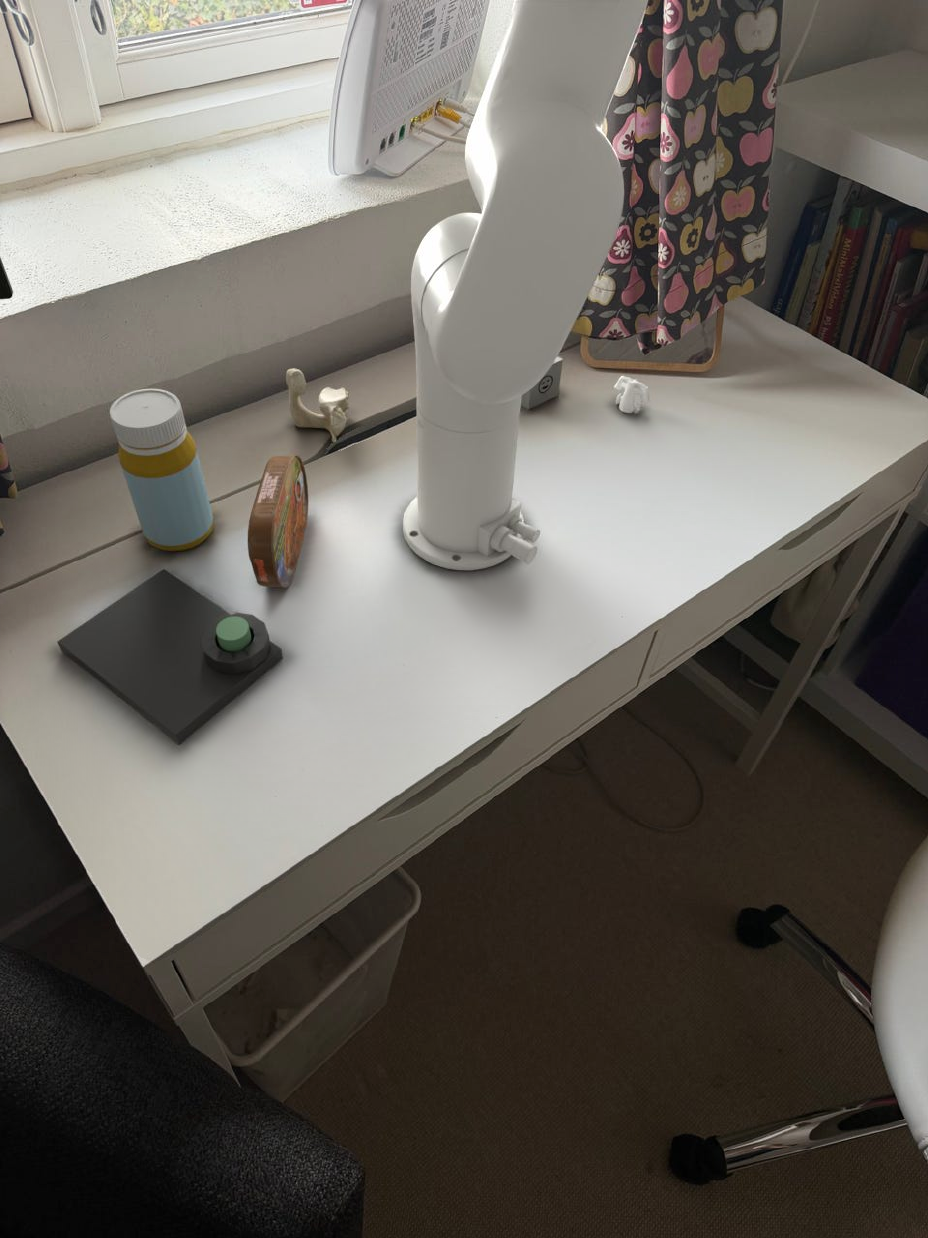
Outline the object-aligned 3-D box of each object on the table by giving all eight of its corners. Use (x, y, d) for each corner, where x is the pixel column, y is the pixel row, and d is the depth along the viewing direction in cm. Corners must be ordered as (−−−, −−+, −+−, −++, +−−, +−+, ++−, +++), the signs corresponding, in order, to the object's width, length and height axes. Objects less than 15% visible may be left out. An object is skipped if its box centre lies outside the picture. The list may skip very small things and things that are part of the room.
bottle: (198, 559, 88) (165, 435, 77) (133, 548, 88) (90, 424, 77) (225, 514, 92) (197, 391, 81) (162, 504, 93) (126, 380, 82)
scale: (286, 656, 80) (282, 634, 78) (179, 745, 73) (171, 724, 71) (169, 576, 86) (163, 554, 84) (61, 651, 79) (50, 629, 77)
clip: (648, 413, 107) (654, 386, 104) (640, 419, 106) (646, 392, 103) (614, 397, 109) (619, 370, 106) (605, 403, 108) (610, 376, 105)
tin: (286, 606, 84) (274, 541, 78) (253, 604, 84) (239, 539, 78) (312, 502, 94) (304, 437, 88) (283, 501, 94) (272, 436, 88)
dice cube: (501, 390, 109) (503, 354, 105) (530, 376, 111) (534, 341, 108) (528, 409, 107) (531, 373, 103) (558, 395, 109) (562, 359, 105)
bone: (382, 414, 102) (341, 365, 93) (352, 459, 102) (308, 415, 93) (331, 390, 106) (287, 341, 97) (302, 433, 106) (255, 388, 97)
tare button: (258, 638, 78) (255, 626, 77) (234, 657, 76) (231, 645, 75) (236, 623, 79) (233, 611, 78) (212, 641, 77) (208, 629, 76)
